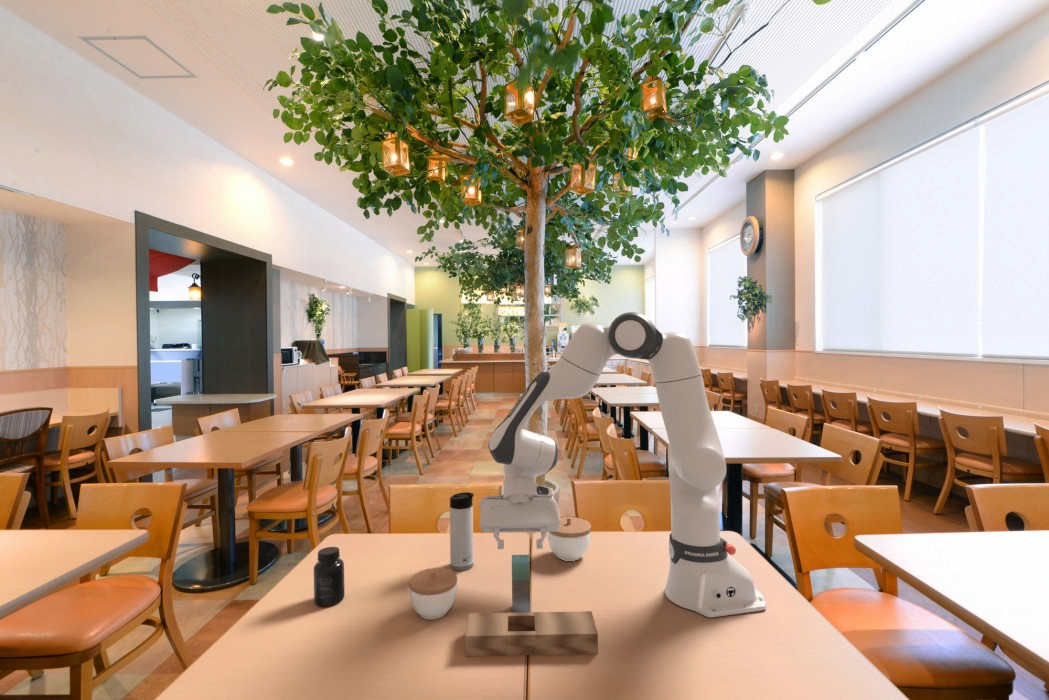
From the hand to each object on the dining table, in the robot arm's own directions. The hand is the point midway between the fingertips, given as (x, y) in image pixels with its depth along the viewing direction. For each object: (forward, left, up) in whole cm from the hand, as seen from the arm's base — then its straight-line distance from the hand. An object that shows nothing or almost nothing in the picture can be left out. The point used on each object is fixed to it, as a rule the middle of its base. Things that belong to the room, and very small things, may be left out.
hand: (520, 548), depth 118 cm
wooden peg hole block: (-2, +18, -12) cm, 22 cm away
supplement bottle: (+46, 0, -12) cm, 47 cm away
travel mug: (+16, -17, -12) cm, 26 cm away
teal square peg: (0, +6, -12) cm, 13 cm away
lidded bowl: (-14, -22, -12) cm, 28 cm away
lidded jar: (+20, +6, -12) cm, 24 cm away
